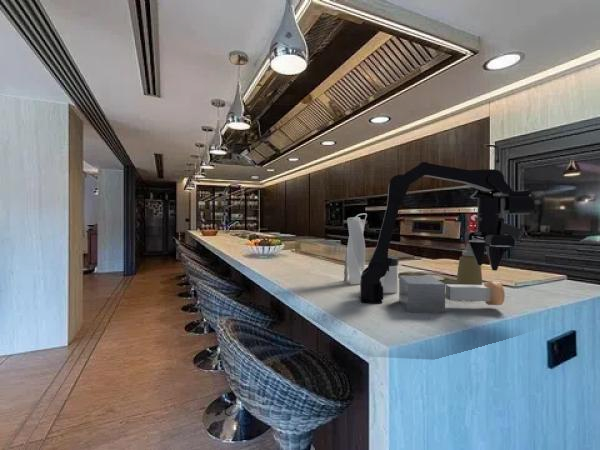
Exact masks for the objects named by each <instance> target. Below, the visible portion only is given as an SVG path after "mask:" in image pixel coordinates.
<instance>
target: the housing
mask: <svg viewBox="0 0 600 450" xmlns="http://www.w3.org/2000/svg"><path fill="white" fill-rule="evenodd" d="M398 301H399V302H400V303H401V305H402V306H403V308H404V309H405V311H406V312H407V313H422V314H423V313H424V314H427V313H428V314H446V283H444V282H442V281H440V279H437V278H436V277H434V276H433V275H401V274H400V275H399V274H398Z"/></svg>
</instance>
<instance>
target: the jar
mask: <svg viewBox="0 0 600 450" xmlns="http://www.w3.org/2000/svg"><path fill="white" fill-rule="evenodd" d="M390 256H391V257H392V261H391V263H390V266H389V272H388V271H387V272H386V275H385V276H384V277H382V278H380V281H381V285H382V286H383V294H397V293H398V292H399V257H398V256H394V255H393V256H392V255H390Z"/></svg>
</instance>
